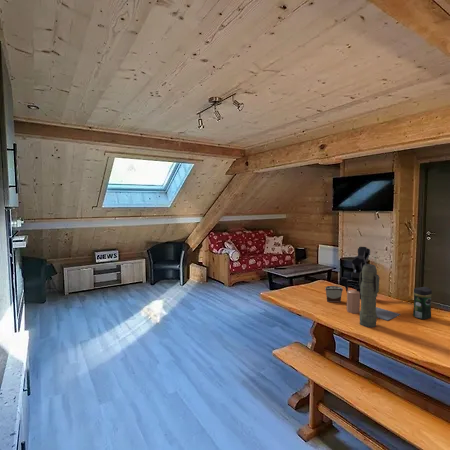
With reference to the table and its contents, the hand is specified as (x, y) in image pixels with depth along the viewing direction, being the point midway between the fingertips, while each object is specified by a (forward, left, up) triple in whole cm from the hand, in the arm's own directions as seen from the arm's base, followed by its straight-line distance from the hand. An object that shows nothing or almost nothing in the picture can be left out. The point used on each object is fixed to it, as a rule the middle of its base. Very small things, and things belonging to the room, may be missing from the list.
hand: (354, 293), depth 197 cm
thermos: (+15, +18, -11) cm, 26 cm away
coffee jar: (-22, +31, -11) cm, 40 cm away
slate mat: (-7, +14, -11) cm, 19 cm away
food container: (-5, -20, -11) cm, 23 cm away
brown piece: (+3, +1, -11) cm, 11 cm away
